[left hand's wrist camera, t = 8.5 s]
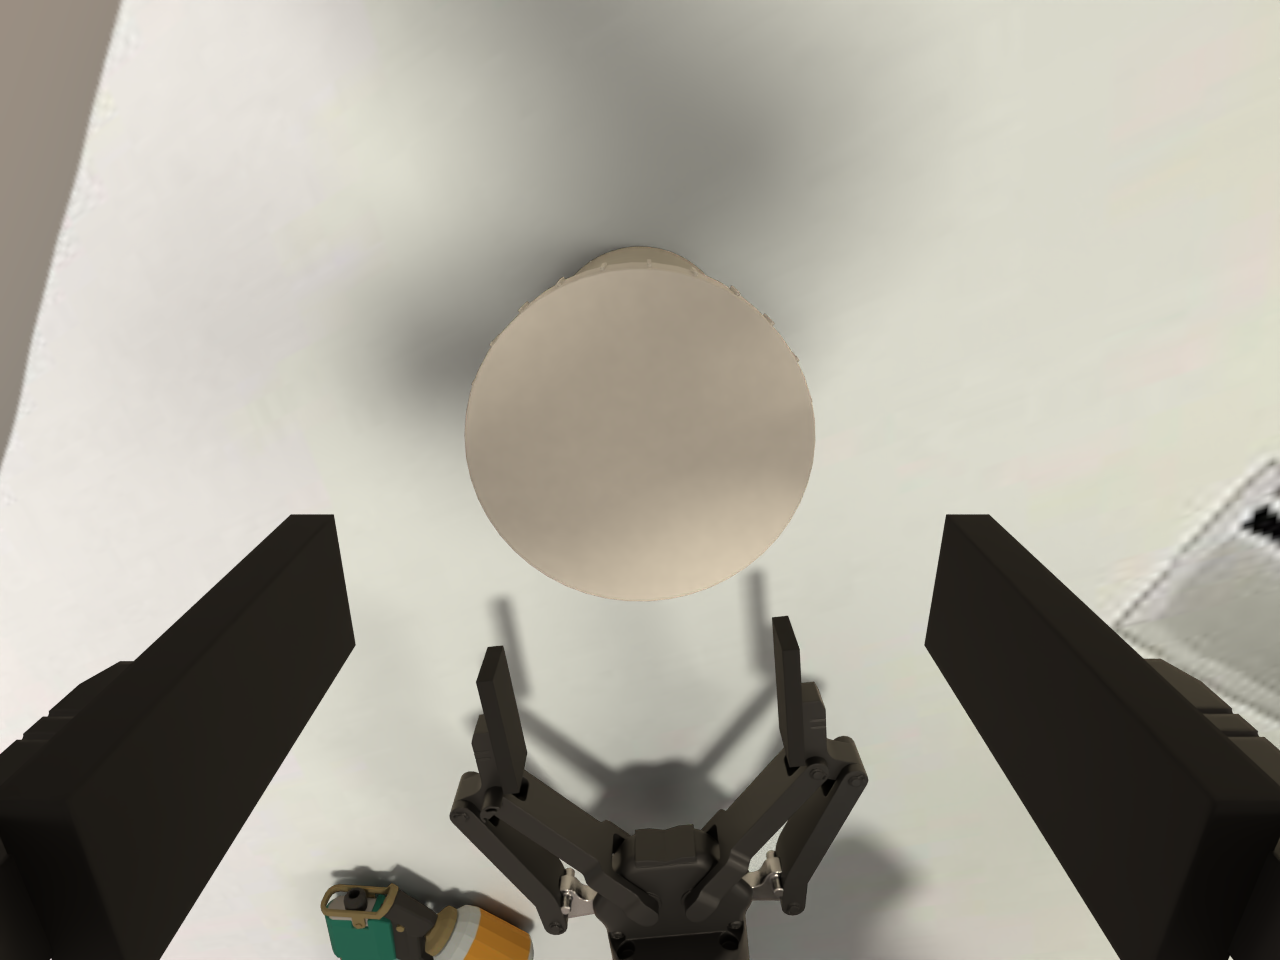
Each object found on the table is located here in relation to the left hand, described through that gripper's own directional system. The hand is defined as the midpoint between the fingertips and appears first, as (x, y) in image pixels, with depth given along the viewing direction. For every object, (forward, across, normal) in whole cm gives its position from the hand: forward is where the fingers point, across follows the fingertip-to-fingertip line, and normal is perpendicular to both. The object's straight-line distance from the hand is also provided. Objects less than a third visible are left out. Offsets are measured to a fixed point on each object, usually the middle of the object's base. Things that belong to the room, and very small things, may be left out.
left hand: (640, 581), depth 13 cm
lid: (+8, 0, 0) cm, 8 cm away
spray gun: (+23, +14, +42) cm, 51 cm away
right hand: (+17, 0, +13) cm, 21 cm away
